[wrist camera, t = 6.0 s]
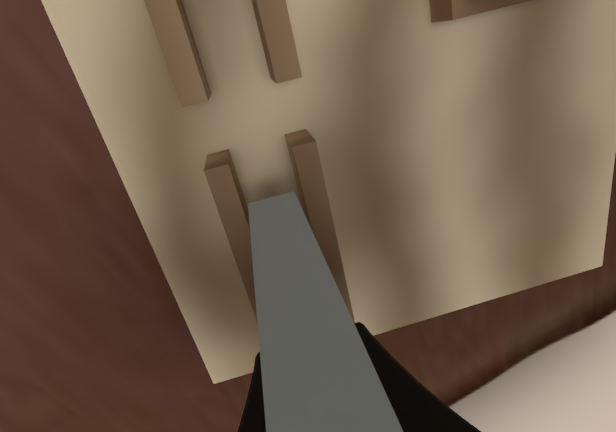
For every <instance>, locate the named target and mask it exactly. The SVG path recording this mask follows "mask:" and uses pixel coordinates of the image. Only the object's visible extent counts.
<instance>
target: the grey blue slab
mask: <svg viewBox="0 0 616 432" xmlns="http://www.w3.org/2000/svg"><path fill="white" fill-rule="evenodd" d="M248 211H249V224H250V236H251V249H252V261H253V274H254V286H255V299H256V311H257V324H258V336H259V349H260V361H261V374H262V386H263V399H264V411H265V424H266V432H403V430H402V428H401V425H400V423H399V421H398V419H397V417H396V414H395V412H394V410H393V408H392V406H391V403H390V401H389V399H388V397H387V395H386V392H385V390H384V388H383V386H382V384H381V381H380V379H379V377H378V375H377V373H376V370H375V368H374V366H373V364H372V362H371V359H370V357H369V355H368V353H367V351H366V348H365V346H364V344H363V342H362V340H361V337H360V335H359V333H358V331H357V329H356V326H355V324H354V322H353V320H352V317H351V315H350V313H349V311H348V309H347V306H346V304H345V302H344V300H343V298H342V295H341V293H340V291H339V289H338V287H337V284H336V282H335V280H334V278H333V276H332V273H331V271H330V269H329V267H328V265H327V262H326V260H325V258H324V256H323V254H322V251H321V249H320V247H319V245H318V243H317V240H316V238H315V236H314V234H313V232H312V229H311V227H310V225H309V223H308V221H307V218H306V216H305V214H304V212H303V210H302V207H301V205H300V203H299V201H298V199H297V196H296V194H295V192H294V191H292V192H289V193H285V194H281V195H278V196H274V197H271V198H267V199H263V200H260V201H256V202H252V203H249V204H248Z"/></svg>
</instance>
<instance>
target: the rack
mask: <svg viewBox="0 0 616 432" xmlns="http://www.w3.org/2000/svg"><path fill="white" fill-rule="evenodd" d="M41 1H42V3H43V6H44V8H45V10H46V12H47V14H48V17H49V19H50V21H51V23H52V26H53V28H54V30H55V32H56V34H57V37H58V39H59V41H60V43H61V46H62V48H63V50H64V52H65V54H66V57H67V59H68V61H69V63H70V66H71V68H72V70H73V72H74V74H75V77H76V79H77V81H78V83H79V86H80V88H81V90H82V92H83V94H84V97H85V99H86V101H87V103H88V106H89V108H90V110H91V112H92V114H93V117H94V119H95V121H96V123H97V126H98V128H99V130H100V132H101V134H102V137H103V139H104V141H105V143H106V146H107V148H108V150H109V152H110V154H111V157H112V159H113V161H114V163H115V166H116V168H117V170H118V172H119V174H120V177H121V179H122V181H123V183H124V186H125V188H126V190H127V192H128V194H129V197H130V199H131V201H132V203H133V206H134V208H135V210H136V212H137V214H138V217H139V219H140V221H141V223H142V226H143V228H144V230H145V232H146V234H147V237H148V239H149V241H150V243H151V246H152V248H153V250H154V252H155V254H156V257H157V259H158V261H159V263H160V266H161V268H162V270H163V272H164V274H165V277H166V279H167V281H168V283H169V286H170V288H171V290H172V292H173V294H174V297H175V299H176V301H177V303H178V306H179V308H180V310H181V312H182V314H183V317H184V319H185V321H186V323H187V326H188V328H189V330H190V332H191V334H192V337H193V339H194V341H195V343H196V346H197V348H198V350H199V352H200V354H201V357H202V359H203V361H204V363H205V366H206V368H207V370H208V372H209V374H210V377H211V379H212V381H213V383H214V384H216V383H219V382H222V381H225V380H229V379H232V378H235V377H239V376H242V375H245V374H248V373H252V372H253V370H254V364H255V357H256V355H257V354H258V352H260V349H259V336H258V324H257V311H256V299H255V286H254V274H253V261H252V249H251V236H250V224H249V211H248V204H249V203H252V202H256V201H260V200H263V199H267V198H271V197H274V196H278V195H281V194H285V193H289V192H292V191H294V192H295V194H296V196H297V199H298V201H299V203H300V205H301V207H302V210H303V212H304V214H305V216H306V218H307V221H308V223H309V225H310V227H311V229H312V232H313V234H314V236H315V238H316V240H317V243H318V245H319V247H320V249H321V251H322V254H323V256H324V258H325V260H326V262H327V265H328V267H329V269H330V271H331V273H332V276H333V278H334V280H335V282H336V284H337V287H338V289H339V291H340V293H341V295H342V298H343V300H344V302H345V304H346V306H347V309H348V311H349V313H350V315H351V317H352V320H353V322H354V323H357V322H361V323H362V324H364V325H365V326H366V328H367V329H368V330H369V332H370V333H371V334H372V335H377V334H380V333H383V332H387V331H390V330H393V329H396V328H400V327H403V326H406V325H410V324H413V323H416V322H419V321H423V320H426V319H429V318H433V317H436V316H439V315H442V314H446V313H449V312H452V311H456V310H459V309H462V308H465V307H469V306H472V305H475V304H479V303H482V302H485V301H488V300H492V299H495V298H498V297H502V296H505V295H508V294H511V293H515V292H518V291H521V290H525V289H528V288H531V287H535V286H538V285H541V284H544V283H548V282H551V281H554V280H558V279H561V278H564V277H567V276H571V275H574V274H577V273H581V272H584V271H587V270H590V269H594V268H597V267H600V266H602V263H603V255H604V246H605V238H606V229H607V221H608V212H609V204H610V196H611V187H612V179H613V170H614V162H615V153H616V0H531V1H527V2H523V3H519V4H515V5H511V6H507V7H503V8H499V9H495V10H491V11H487V12H483V13H479V14H475V15H471V16H467V17H463V18H459V19H455V20H449V21H440V22H431V15H430V2H429V0H41Z"/></svg>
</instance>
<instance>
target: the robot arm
mask: <svg viewBox="0 0 616 432" xmlns="http://www.w3.org/2000/svg"><path fill="white" fill-rule="evenodd" d="M354 324H355V326H356V329H357V331H358V333H359V335H360V337H361V340H362V342H363V344H364V346H365V348H366V351H367V353H368V355H369V357H370V359H371V362H372V364H373V366H374V368H375V370H376V373H377V375H378V377H379V379H380V381H381V384H382V386H383V388H384V390H385V392H386V395H387V397H388V399H389V401H390V403H391V406H392V408H393V410H394V412H395V414H396V417H397V419H398V421H399V423H400V425H401V428H402V430H403V432H481V431H479V430H478V429H477V428H475V427H474V426H473V425H471V424H470V423H468V422H467V421H466V420H464V419H463V418H461V416H459V415H458V414H457V413H455V412H454V411H453V410H452V409H450V408H449V407H448V406H447V405H445V404H444V403H443V402H442V401H441V400H439V399H438V398H437V397H436V396H435V395H433V394H432V393H431V392H430V391H429V390H427V389H426V388H425V387H424V386H423V385H422V384H421V383H419V382H418V381H417V380H416V379H415V378H414V377H413V376H412V375H411V374H410V373H409V372H408V371H407V370H406V369H404V368H403V367H402V366H401V365H400V364H399V363H398V362H397V361H396V360H395V359H394V358H393V357H392V356H391V355H390V354H389V353H388V352H387V351H386V350H385V349H384V347H383V346H382V345H381V344H380V343H379V342H378V341H377V340H376V339H375V338H374V336H373V335H372V334H371V333H370V332H369V330H368V329H367V328H366V326H365V325H364V324H362V323H361V322H357V323H354ZM238 432H266V424H265V411H264V399H263V386H262V374H261V361H260V352H258V354H257V355H256V357H255V364H254V370H253V375H252V380H251V384H250V389H249V393H248V397H247V401H246V405H245V408H244V412H243V415H242V419H241V422H240V426H239V429H238Z"/></svg>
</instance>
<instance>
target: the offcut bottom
mask: <svg viewBox="0 0 616 432" xmlns="http://www.w3.org/2000/svg"><path fill="white" fill-rule="evenodd" d="M527 1H531V0H429V2H430V15H431V22H440V21H449V20H455V19H459V18H463V17H467V16H471V15H475V14H479V13H483V12H487V11H491V10H495V9H499V8H503V7H507V6H511V5H515V4H519V3H523V2H527Z"/></svg>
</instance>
